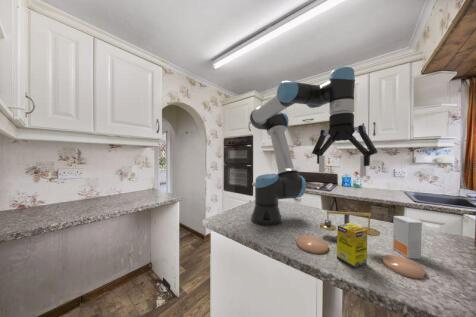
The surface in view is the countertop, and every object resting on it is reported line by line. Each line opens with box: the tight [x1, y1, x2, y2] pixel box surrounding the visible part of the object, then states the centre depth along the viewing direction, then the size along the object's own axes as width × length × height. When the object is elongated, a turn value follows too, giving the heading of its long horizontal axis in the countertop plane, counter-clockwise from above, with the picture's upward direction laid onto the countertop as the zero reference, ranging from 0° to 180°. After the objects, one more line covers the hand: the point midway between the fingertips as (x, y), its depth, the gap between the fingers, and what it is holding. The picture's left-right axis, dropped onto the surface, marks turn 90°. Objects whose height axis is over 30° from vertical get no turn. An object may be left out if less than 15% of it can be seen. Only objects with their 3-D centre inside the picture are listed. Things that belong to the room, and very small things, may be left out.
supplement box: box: [336, 222, 368, 269], centre depth 54 cm, size 6×6×11 cm
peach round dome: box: [295, 234, 330, 255], centre depth 64 cm, size 11×11×1 cm
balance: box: [319, 210, 381, 244], centre depth 65 cm, size 20×6×13 cm, turn 36°
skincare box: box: [392, 215, 423, 260], centre depth 58 cm, size 6×4×12 cm
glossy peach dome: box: [382, 254, 426, 279], centre depth 51 cm, size 9×9×1 cm
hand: (340, 174), depth 61 cm, fingers open, 13 cm apart
